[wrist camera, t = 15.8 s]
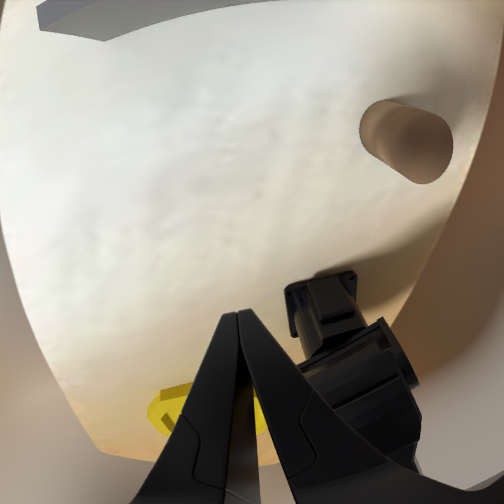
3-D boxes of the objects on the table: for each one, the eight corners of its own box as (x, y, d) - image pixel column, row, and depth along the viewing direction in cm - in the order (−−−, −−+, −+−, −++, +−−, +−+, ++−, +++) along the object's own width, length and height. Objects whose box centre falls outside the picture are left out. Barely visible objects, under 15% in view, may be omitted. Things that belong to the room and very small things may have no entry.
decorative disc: (136, 419, 38) (135, 431, 36) (179, 362, 30) (178, 378, 29) (234, 438, 44) (235, 448, 42) (300, 390, 37) (303, 403, 35)
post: (410, 154, 20) (450, 179, 16) (360, 161, 20) (397, 188, 16) (409, 99, 18) (454, 113, 13) (356, 101, 18) (397, 114, 13)
